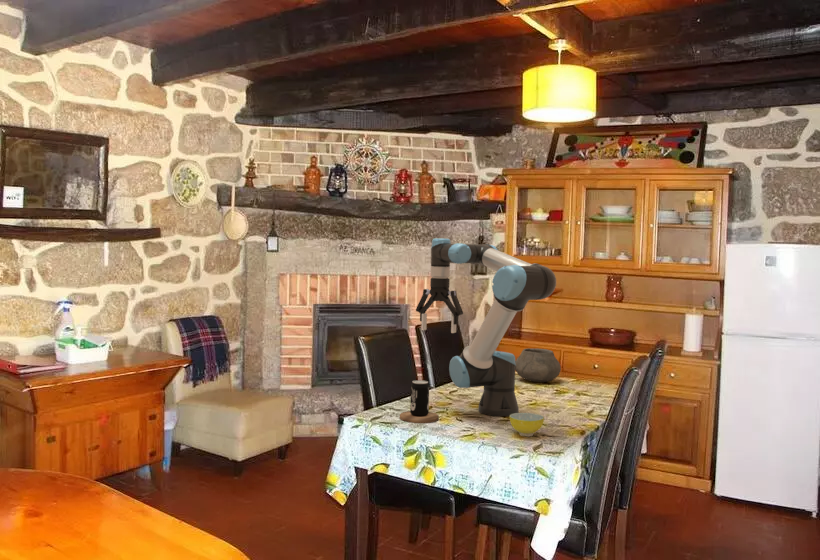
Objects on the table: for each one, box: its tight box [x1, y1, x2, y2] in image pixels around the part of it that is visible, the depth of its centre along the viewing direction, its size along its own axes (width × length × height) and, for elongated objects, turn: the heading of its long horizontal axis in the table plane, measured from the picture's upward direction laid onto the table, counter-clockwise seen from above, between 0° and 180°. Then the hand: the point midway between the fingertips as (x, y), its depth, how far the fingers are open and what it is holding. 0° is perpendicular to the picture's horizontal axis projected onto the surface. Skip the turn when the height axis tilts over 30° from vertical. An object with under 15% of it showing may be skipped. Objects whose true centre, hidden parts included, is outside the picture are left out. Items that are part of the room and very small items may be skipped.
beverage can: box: [409, 379, 430, 417], centre depth 252 cm, size 7×7×12 cm
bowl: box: [509, 412, 545, 437], centre depth 234 cm, size 11×12×6 cm
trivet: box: [399, 410, 440, 424], centre depth 253 cm, size 14×14×1 cm
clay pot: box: [515, 347, 562, 383], centre depth 335 cm, size 22×21×15 cm
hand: (438, 331), depth 278 cm, fingers open, 13 cm apart
